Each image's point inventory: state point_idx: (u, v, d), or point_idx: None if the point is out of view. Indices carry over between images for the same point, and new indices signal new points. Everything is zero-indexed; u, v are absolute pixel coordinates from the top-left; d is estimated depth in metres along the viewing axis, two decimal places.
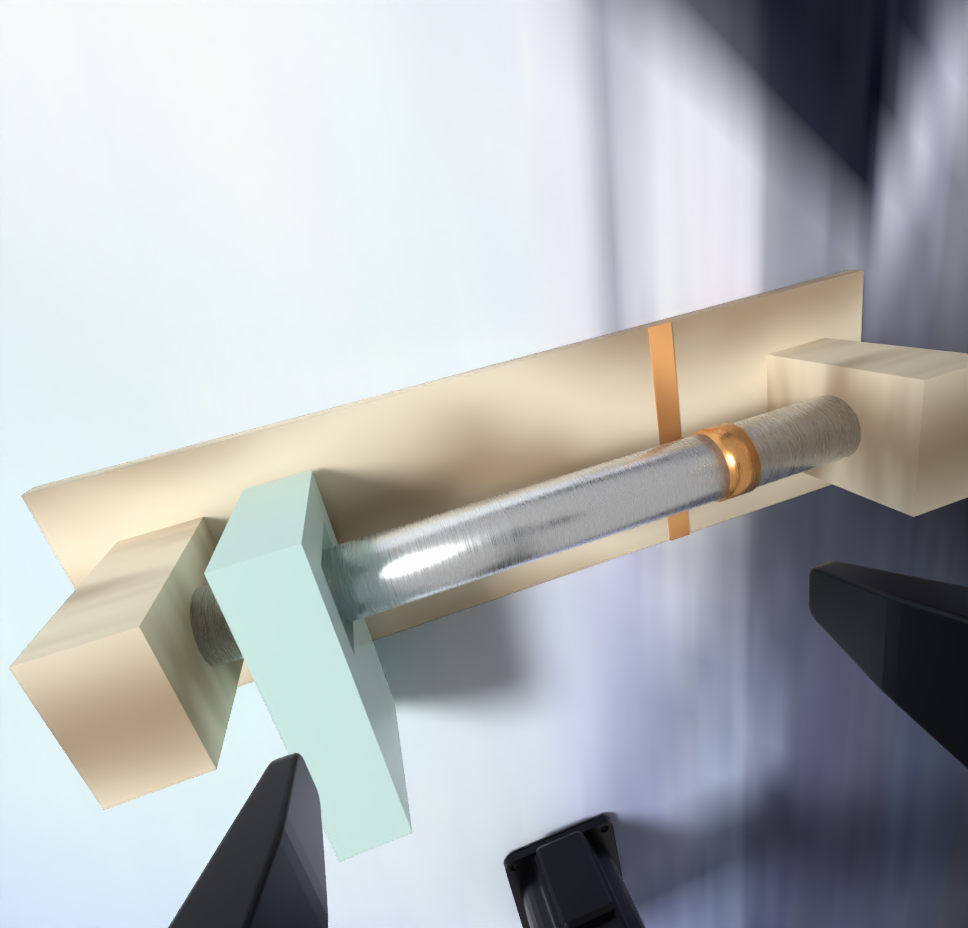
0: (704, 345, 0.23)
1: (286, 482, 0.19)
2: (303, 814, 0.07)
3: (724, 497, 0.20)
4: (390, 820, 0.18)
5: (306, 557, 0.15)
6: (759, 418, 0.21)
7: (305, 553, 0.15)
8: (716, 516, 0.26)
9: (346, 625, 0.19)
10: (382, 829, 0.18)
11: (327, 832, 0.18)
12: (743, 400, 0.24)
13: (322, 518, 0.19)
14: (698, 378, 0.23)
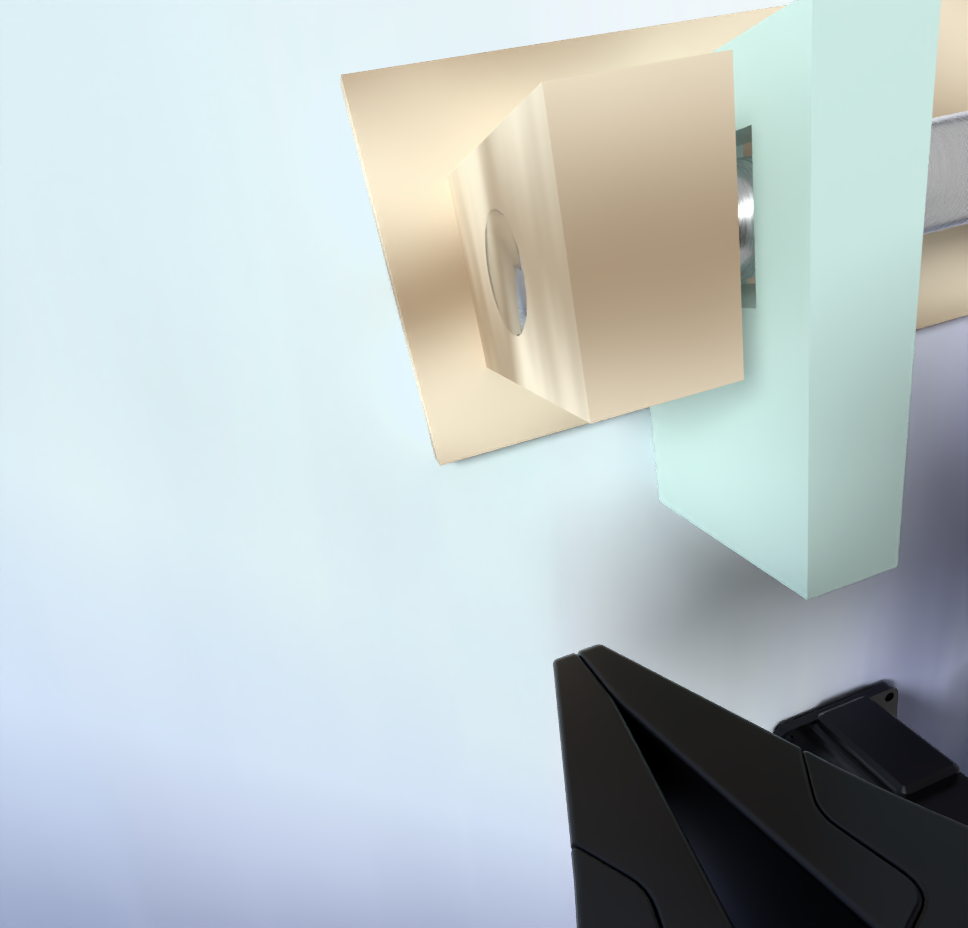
0: None
1: None
2: None
3: None
4: (881, 540, 0.12)
5: (939, 2, 0.09)
6: None
7: None
8: None
9: None
10: (869, 553, 0.12)
11: (810, 544, 0.12)
12: None
13: None
14: None
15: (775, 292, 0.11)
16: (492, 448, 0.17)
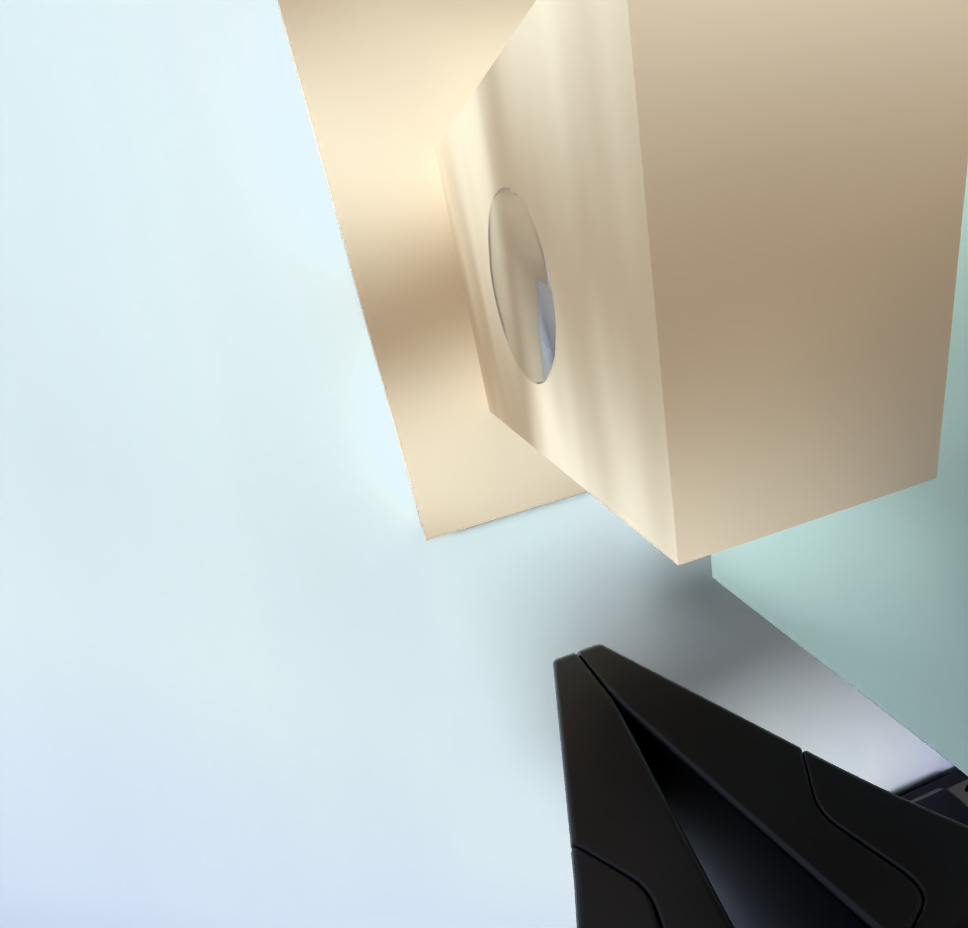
0: None
1: None
2: None
3: None
4: None
5: None
6: None
7: None
8: None
9: None
10: None
11: None
12: None
13: None
14: None
15: (957, 321, 0.07)
16: (496, 516, 0.12)
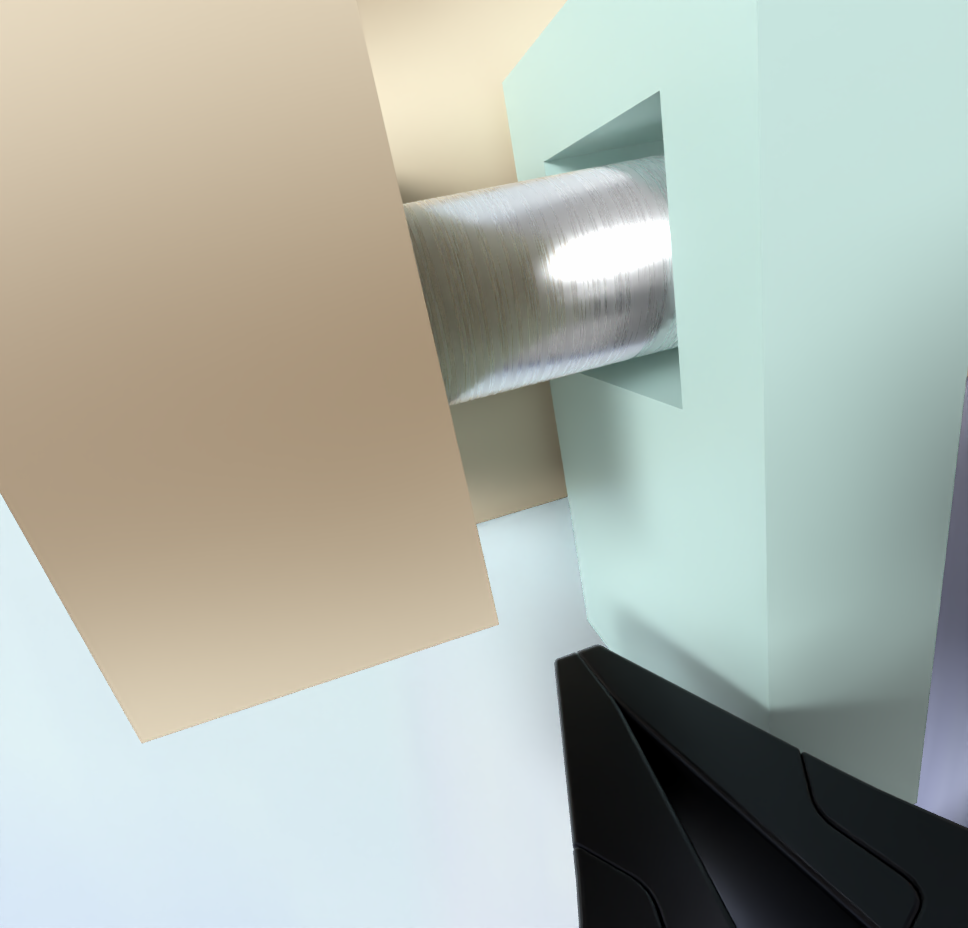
0: None
1: None
2: None
3: None
4: (892, 771, 0.08)
5: None
6: None
7: None
8: None
9: None
10: None
11: None
12: None
13: None
14: None
15: (709, 391, 0.06)
16: None
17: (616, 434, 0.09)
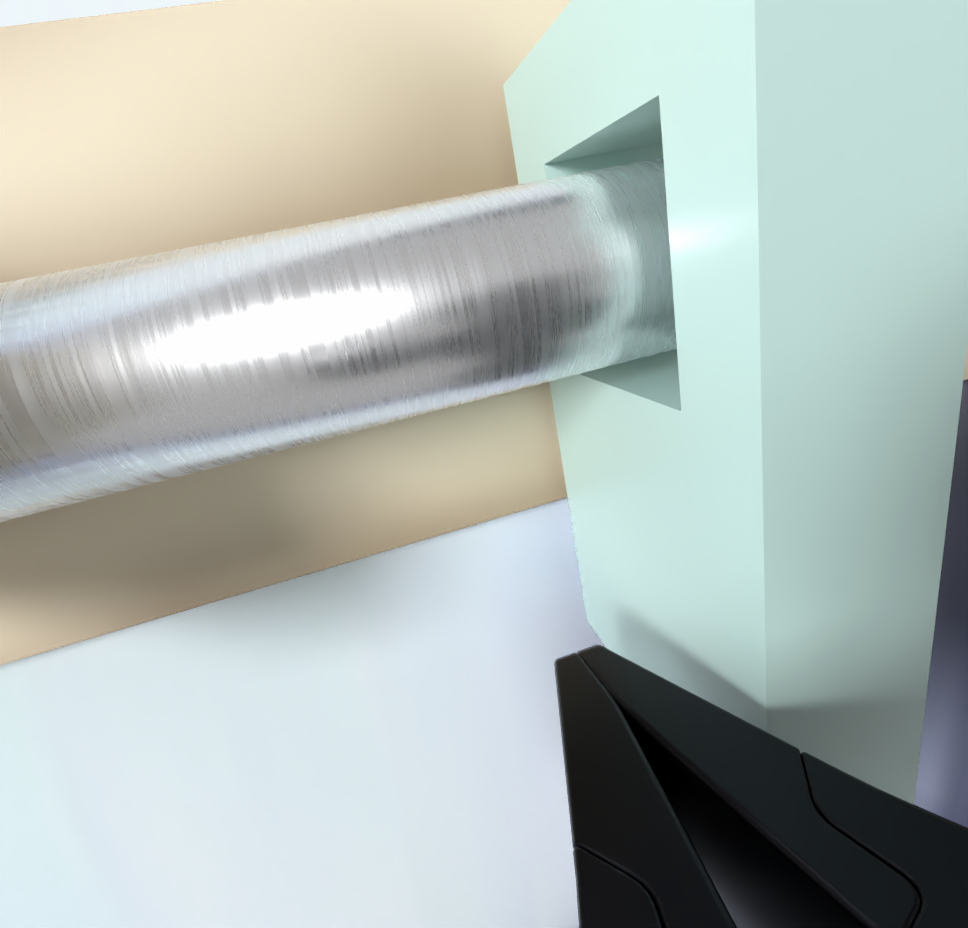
0: None
1: None
2: None
3: None
4: (889, 772, 0.08)
5: None
6: None
7: None
8: None
9: None
10: None
11: None
12: None
13: None
14: None
15: (707, 393, 0.06)
16: None
17: (615, 436, 0.09)
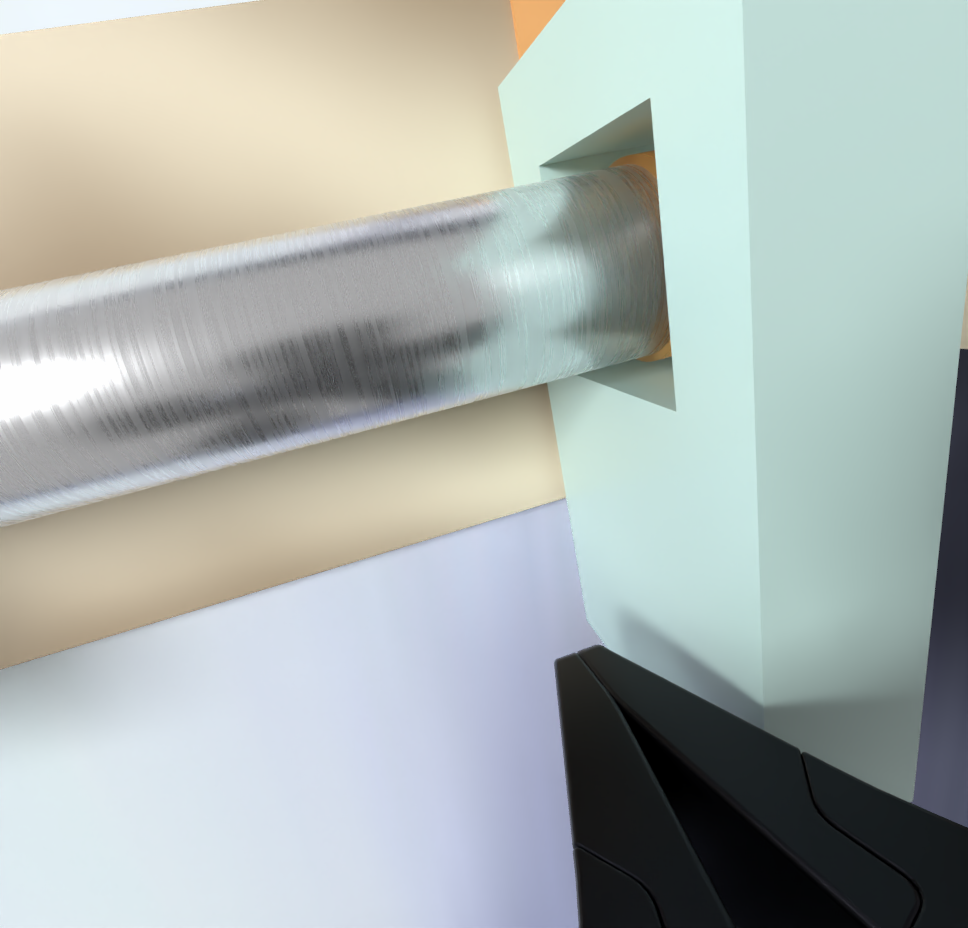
0: None
1: None
2: None
3: None
4: (888, 769, 0.08)
5: None
6: None
7: None
8: None
9: None
10: None
11: None
12: None
13: None
14: None
15: (701, 394, 0.06)
16: None
17: (613, 436, 0.09)
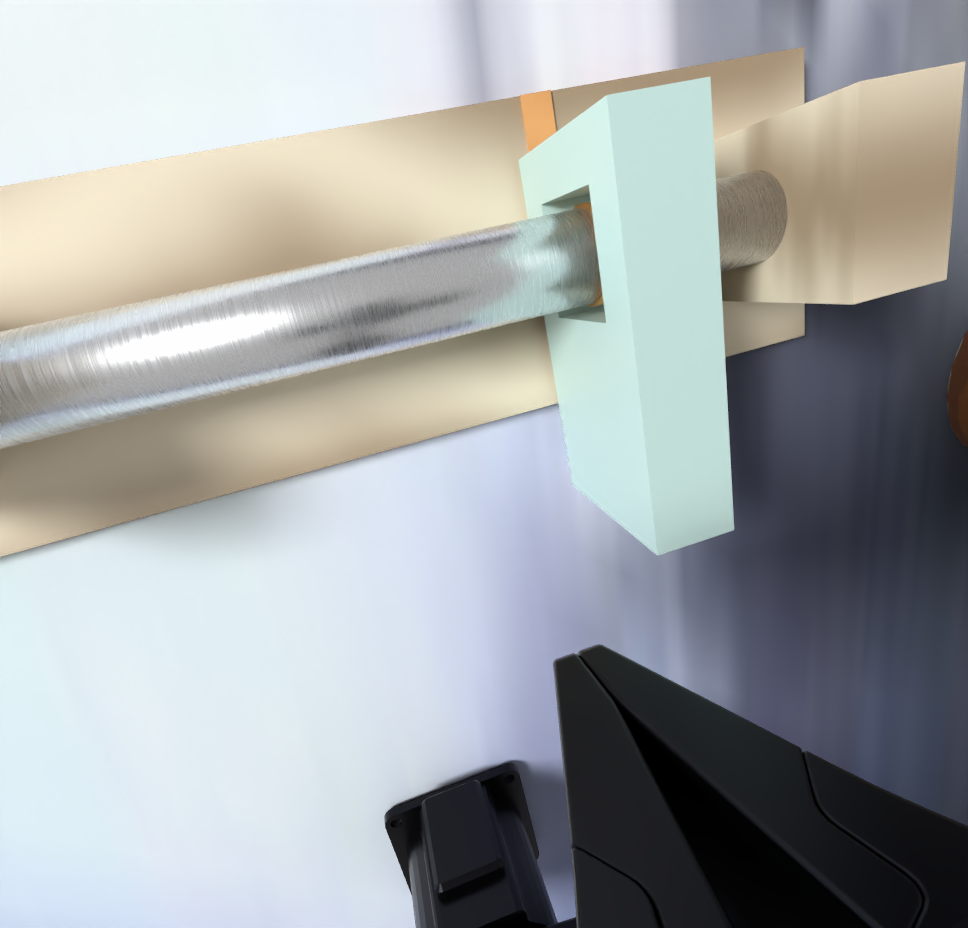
0: None
1: None
2: None
3: None
4: (717, 507, 0.15)
5: (710, 99, 0.12)
6: None
7: (709, 95, 0.12)
8: None
9: None
10: (707, 518, 0.16)
11: (655, 510, 0.15)
12: None
13: None
14: None
15: (614, 311, 0.14)
16: None
17: (581, 348, 0.17)
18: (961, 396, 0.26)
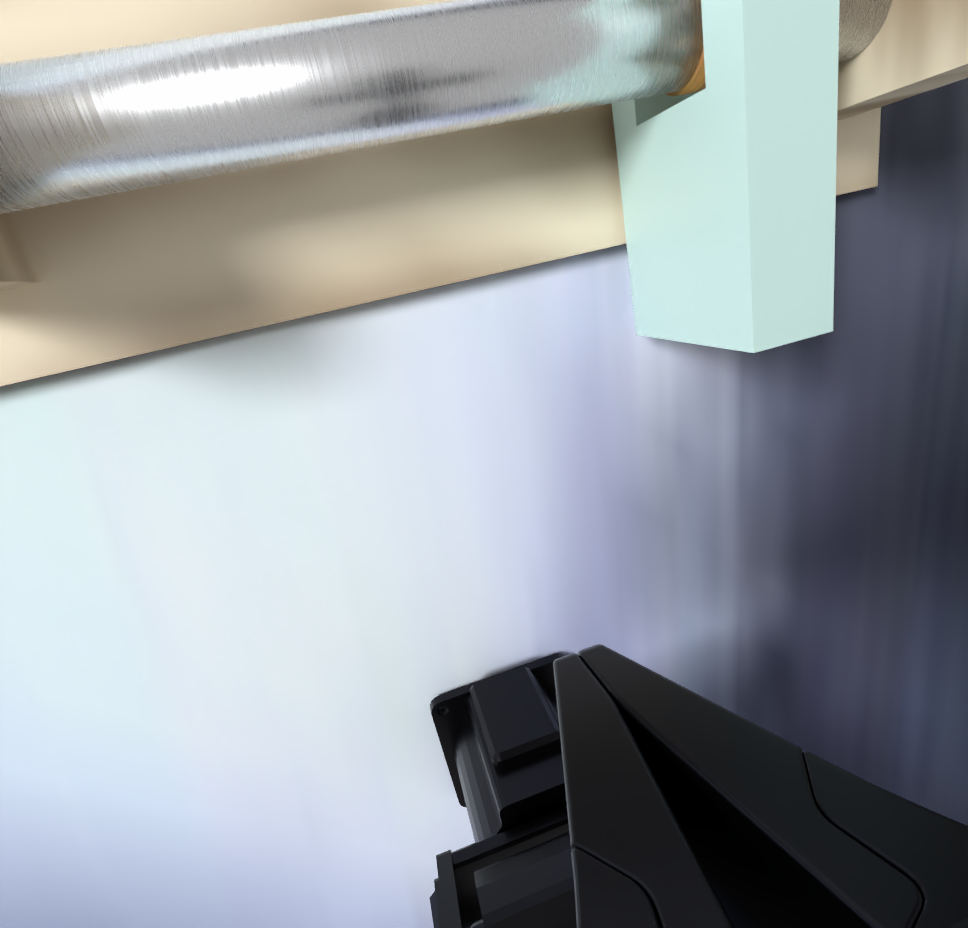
0: None
1: None
2: None
3: (699, 61, 0.14)
4: (817, 301, 0.14)
5: None
6: None
7: None
8: None
9: None
10: (806, 313, 0.14)
11: (754, 296, 0.14)
12: None
13: None
14: None
15: (719, 63, 0.13)
16: None
17: (665, 146, 0.16)
18: None
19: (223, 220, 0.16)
